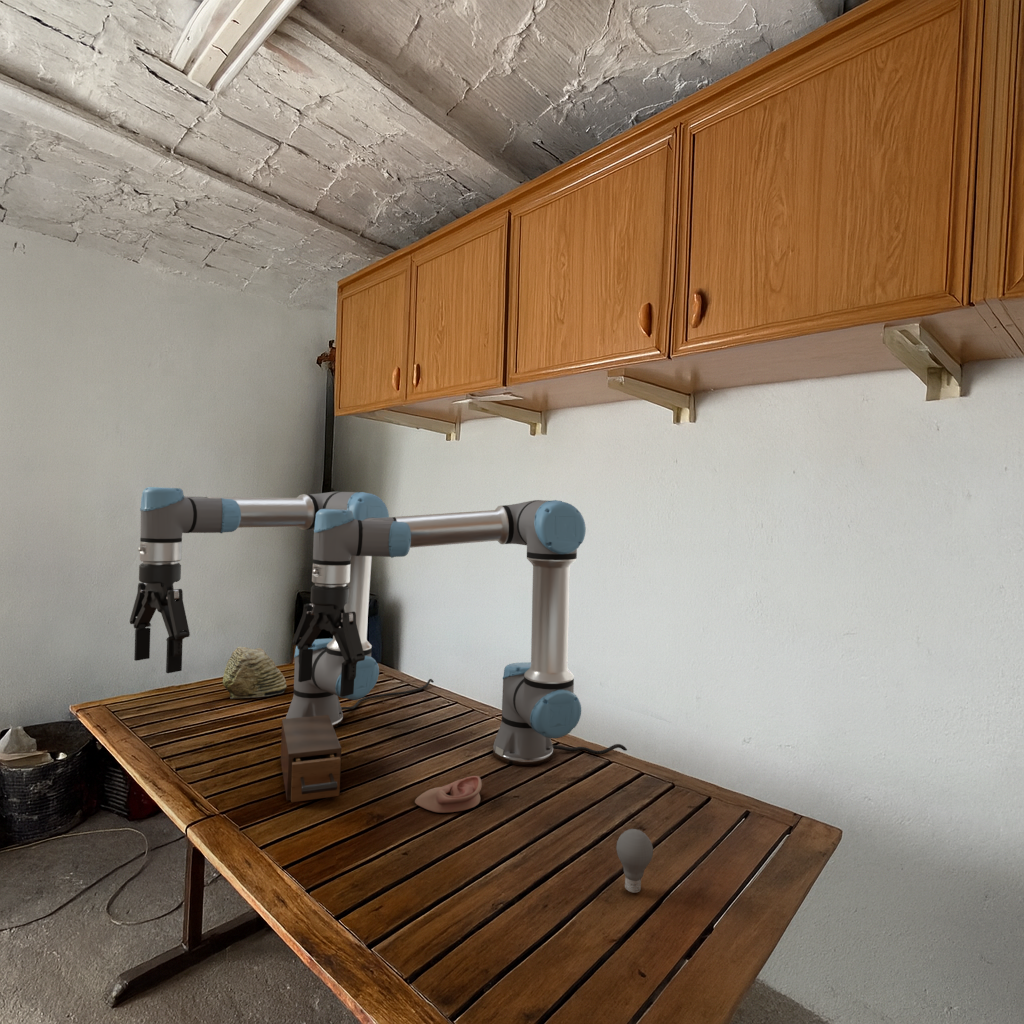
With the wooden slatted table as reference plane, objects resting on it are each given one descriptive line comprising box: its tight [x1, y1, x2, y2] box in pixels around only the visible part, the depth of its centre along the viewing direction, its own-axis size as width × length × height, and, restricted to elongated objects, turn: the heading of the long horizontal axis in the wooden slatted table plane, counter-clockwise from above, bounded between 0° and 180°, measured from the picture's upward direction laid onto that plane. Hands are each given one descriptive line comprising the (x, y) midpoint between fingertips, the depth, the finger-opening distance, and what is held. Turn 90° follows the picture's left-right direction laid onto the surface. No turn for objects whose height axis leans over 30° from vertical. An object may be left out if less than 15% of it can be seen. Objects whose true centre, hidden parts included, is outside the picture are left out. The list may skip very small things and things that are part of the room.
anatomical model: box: [414, 775, 483, 814], centre depth 134 cm, size 13×4×12 cm
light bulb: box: [615, 828, 654, 894], centre depth 106 cm, size 6×6×10 cm
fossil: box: [222, 646, 288, 699], centre depth 198 cm, size 9×18×15 cm, turn 132°
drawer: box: [290, 754, 342, 803], centre depth 137 cm, size 26×10×8 cm, turn 23°
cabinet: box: [280, 715, 342, 801], centre depth 143 cm, size 22×11×10 cm, turn 23°
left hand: (157, 665), depth 130 cm, fingers open, 13 cm apart
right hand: (325, 687), depth 130 cm, fingers open, 13 cm apart
